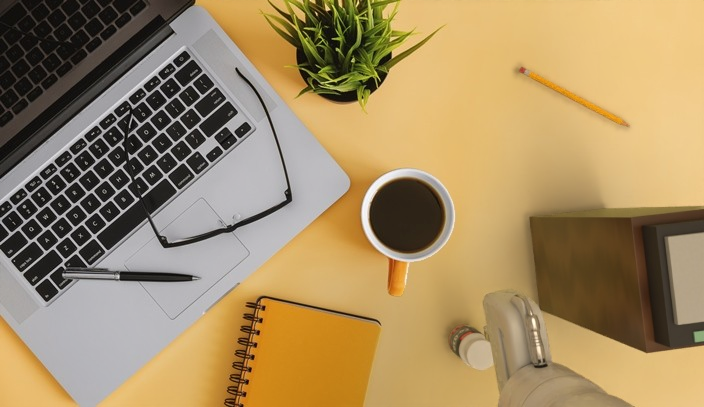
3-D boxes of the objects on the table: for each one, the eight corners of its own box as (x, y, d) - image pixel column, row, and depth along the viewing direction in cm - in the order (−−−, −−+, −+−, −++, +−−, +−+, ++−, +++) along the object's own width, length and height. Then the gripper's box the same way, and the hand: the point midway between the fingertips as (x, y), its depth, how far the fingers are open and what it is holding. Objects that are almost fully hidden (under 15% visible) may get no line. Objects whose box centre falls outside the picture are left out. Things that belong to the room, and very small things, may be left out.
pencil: (520, 67, 83) (522, 66, 82) (630, 125, 84) (633, 124, 83) (518, 72, 83) (520, 70, 82) (628, 129, 84) (631, 128, 83)
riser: (616, 300, 83) (756, 338, 57) (539, 310, 82) (646, 353, 56) (605, 208, 83) (740, 204, 57) (529, 216, 82) (630, 217, 56)
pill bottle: (458, 318, 81) (475, 330, 73) (485, 334, 81) (505, 348, 73) (442, 346, 81) (457, 361, 72) (469, 362, 81) (487, 379, 73)
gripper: (496, 306, 48) (454, 286, 62) (538, 538, 48) (487, 466, 61) (564, 292, 48) (508, 275, 62) (607, 522, 48) (540, 454, 62)
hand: (498, 372), depth 62 cm, fingers open, 8 cm apart
